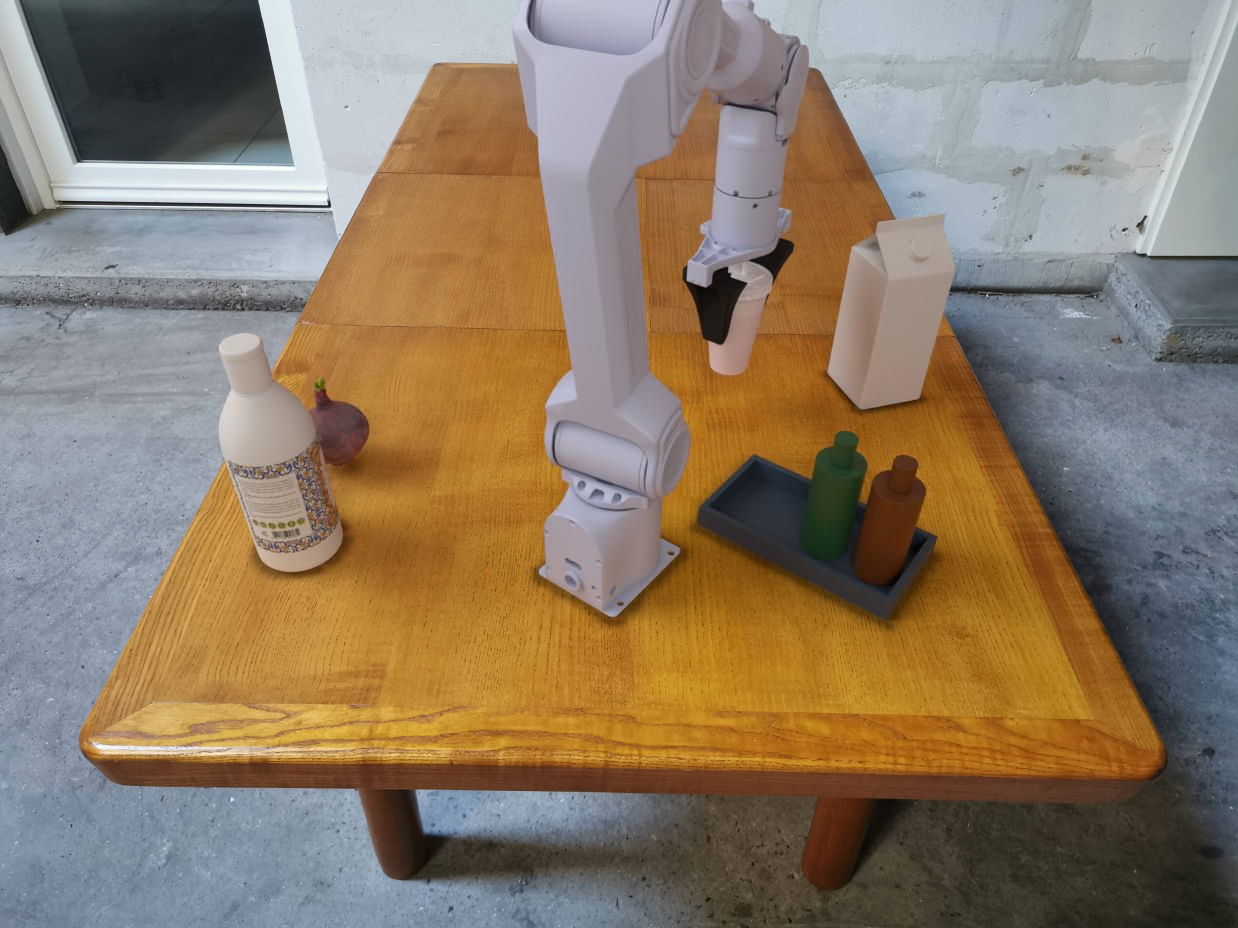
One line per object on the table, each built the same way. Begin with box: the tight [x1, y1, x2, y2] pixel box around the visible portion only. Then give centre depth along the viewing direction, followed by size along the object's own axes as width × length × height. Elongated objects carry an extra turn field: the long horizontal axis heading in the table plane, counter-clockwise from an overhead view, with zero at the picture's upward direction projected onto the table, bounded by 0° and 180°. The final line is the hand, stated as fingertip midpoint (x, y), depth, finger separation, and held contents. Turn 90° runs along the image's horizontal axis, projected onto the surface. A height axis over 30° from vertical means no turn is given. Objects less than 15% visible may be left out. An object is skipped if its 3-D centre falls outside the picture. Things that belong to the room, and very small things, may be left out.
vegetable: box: [308, 377, 370, 468], centre depth 80 cm, size 6×6×10 cm
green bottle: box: [800, 430, 869, 560], centre depth 71 cm, size 4×4×11 cm
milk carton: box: [827, 212, 956, 410], centre depth 88 cm, size 7×7×19 cm
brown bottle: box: [851, 454, 927, 586], centre depth 69 cm, size 4×4×11 cm
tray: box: [697, 453, 938, 621], centre depth 75 cm, size 9×18×2 cm, turn 53°
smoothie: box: [707, 260, 773, 376], centre depth 81 cm, size 6×6×14 cm
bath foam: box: [218, 332, 344, 573], centre depth 68 cm, size 7×7×20 cm
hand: (732, 325), depth 83 cm, fingers closed on smoothie, 6 cm apart
